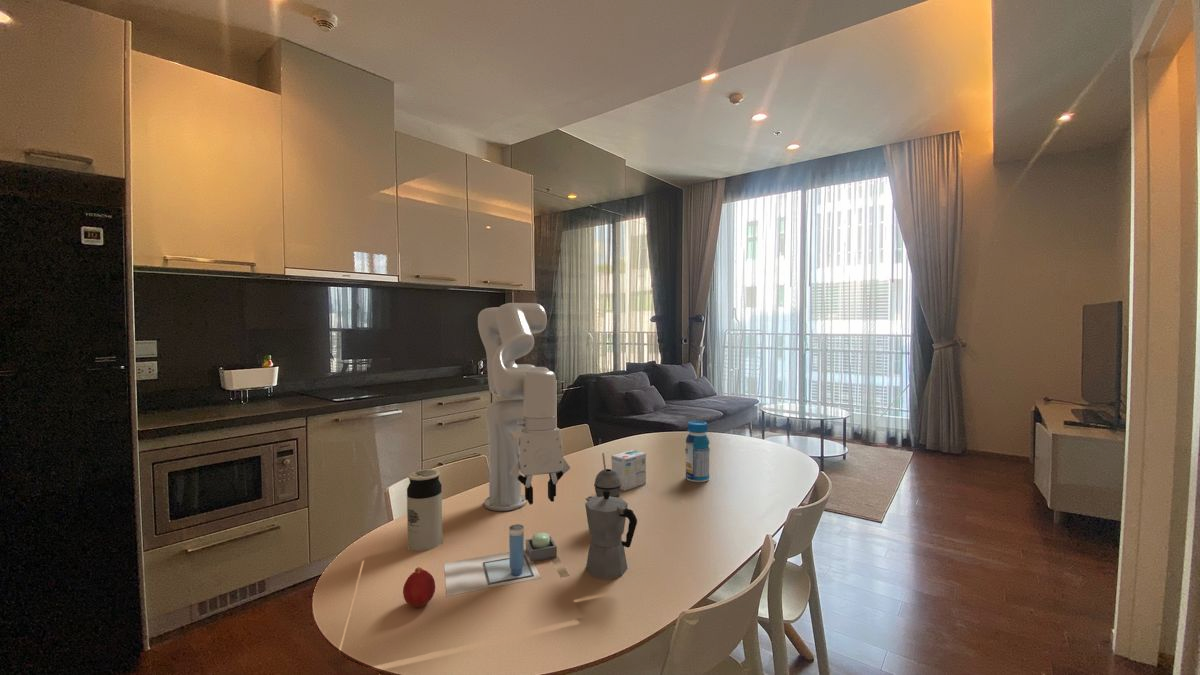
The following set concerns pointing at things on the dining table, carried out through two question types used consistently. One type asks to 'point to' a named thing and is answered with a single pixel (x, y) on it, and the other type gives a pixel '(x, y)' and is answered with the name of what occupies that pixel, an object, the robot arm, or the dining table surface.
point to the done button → (540, 540)
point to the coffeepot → (608, 535)
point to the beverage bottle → (697, 452)
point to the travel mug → (424, 510)
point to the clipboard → (490, 572)
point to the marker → (516, 549)
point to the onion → (419, 588)
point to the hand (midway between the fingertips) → (540, 500)
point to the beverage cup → (607, 482)
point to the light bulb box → (630, 468)
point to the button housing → (541, 551)
